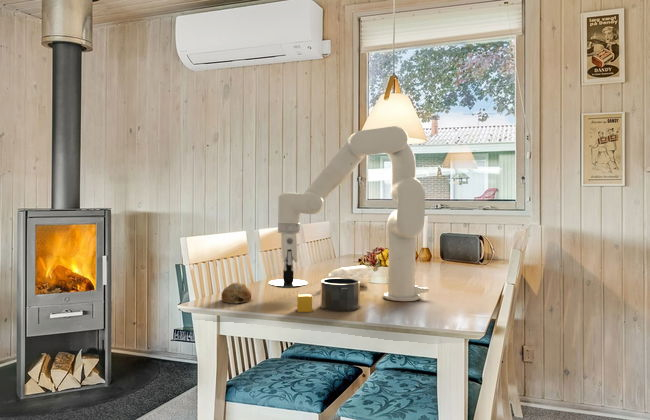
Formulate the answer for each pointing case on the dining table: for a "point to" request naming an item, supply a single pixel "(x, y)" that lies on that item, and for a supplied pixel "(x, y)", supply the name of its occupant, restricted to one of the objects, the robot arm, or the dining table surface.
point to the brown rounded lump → (236, 293)
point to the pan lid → (288, 285)
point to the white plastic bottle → (352, 274)
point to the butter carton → (304, 303)
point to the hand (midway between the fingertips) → (288, 281)
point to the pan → (340, 294)
